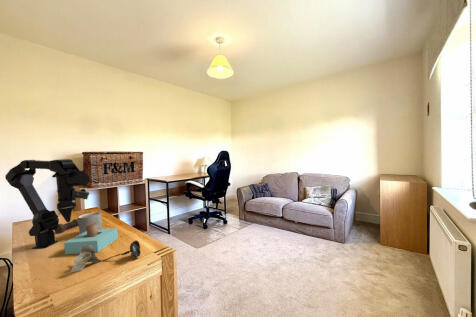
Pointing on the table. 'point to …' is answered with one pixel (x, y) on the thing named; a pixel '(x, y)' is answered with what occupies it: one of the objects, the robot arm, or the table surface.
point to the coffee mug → (89, 221)
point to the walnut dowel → (92, 229)
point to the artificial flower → (90, 256)
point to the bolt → (66, 226)
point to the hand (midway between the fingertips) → (68, 219)
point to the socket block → (91, 241)
